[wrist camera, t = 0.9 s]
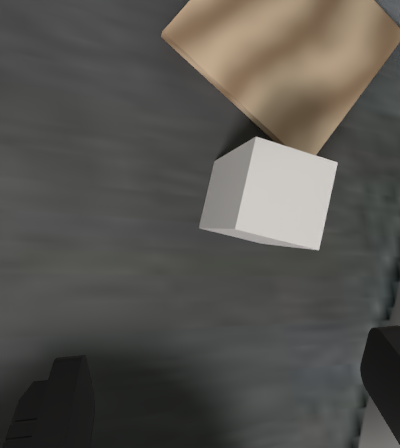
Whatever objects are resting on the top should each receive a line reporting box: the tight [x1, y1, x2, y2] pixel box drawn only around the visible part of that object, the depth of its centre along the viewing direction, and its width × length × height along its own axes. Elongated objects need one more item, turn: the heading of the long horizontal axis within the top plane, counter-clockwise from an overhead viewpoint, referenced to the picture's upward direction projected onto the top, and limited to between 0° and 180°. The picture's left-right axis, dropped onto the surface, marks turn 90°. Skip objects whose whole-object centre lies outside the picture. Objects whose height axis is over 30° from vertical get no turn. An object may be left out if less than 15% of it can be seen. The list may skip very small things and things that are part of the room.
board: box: [161, 0, 400, 155], centre depth 36 cm, size 18×18×1 cm
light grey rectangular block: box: [199, 137, 338, 250], centre depth 31 cm, size 6×6×10 cm
